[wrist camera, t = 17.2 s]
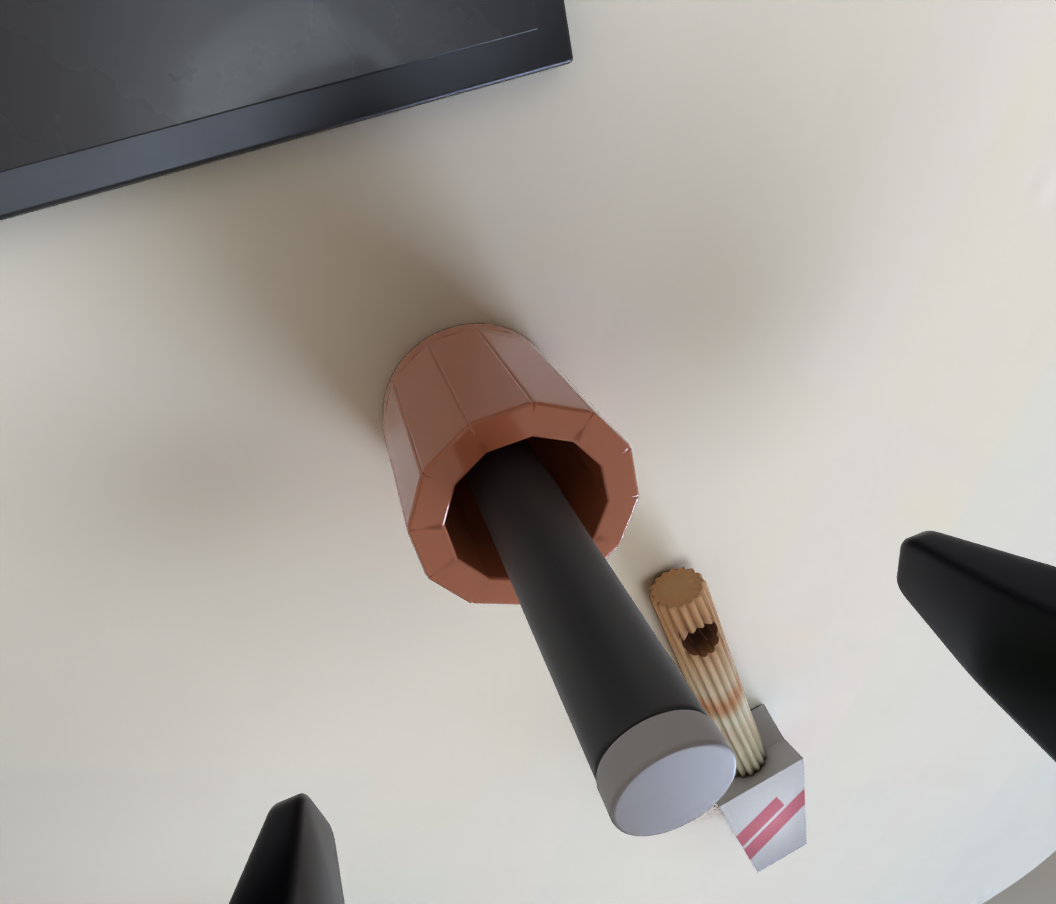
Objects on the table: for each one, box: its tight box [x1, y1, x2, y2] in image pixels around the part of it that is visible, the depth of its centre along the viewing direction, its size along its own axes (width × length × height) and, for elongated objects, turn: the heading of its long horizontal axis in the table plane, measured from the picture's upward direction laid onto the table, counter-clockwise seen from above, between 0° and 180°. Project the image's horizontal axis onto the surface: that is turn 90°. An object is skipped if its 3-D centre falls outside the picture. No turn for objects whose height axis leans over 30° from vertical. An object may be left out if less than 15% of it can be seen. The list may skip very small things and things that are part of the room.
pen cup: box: [383, 324, 638, 604], centre depth 15 cm, size 5×5×5 cm
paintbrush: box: [650, 567, 806, 872], centre depth 26 cm, size 4×3×20 cm
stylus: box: [465, 439, 736, 836], centre depth 12 cm, size 2×2×10 cm
